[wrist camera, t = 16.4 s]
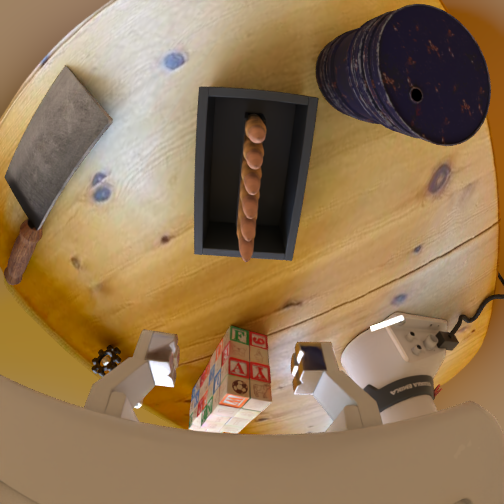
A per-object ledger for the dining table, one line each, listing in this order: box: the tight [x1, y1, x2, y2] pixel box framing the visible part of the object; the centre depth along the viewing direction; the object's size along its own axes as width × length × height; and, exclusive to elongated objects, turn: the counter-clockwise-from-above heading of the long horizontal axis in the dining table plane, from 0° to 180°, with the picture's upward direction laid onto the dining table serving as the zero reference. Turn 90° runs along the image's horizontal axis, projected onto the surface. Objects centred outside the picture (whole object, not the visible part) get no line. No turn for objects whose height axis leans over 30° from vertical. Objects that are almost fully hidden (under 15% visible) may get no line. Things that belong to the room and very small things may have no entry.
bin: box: [194, 87, 318, 261], centre depth 27 cm, size 10×16×7 cm, turn 175°
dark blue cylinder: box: [316, 4, 491, 146], centre depth 18 cm, size 10×10×15 cm
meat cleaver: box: [4, 66, 112, 285], centre depth 28 cm, size 34×11×4 cm, turn 131°
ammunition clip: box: [236, 112, 267, 262], centre depth 24 cm, size 11×2×12 cm, turn 175°
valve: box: [92, 345, 143, 408], centre depth 45 cm, size 7×7×12 cm
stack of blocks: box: [189, 326, 272, 434], centre depth 42 cm, size 21×6×12 cm, turn 156°
